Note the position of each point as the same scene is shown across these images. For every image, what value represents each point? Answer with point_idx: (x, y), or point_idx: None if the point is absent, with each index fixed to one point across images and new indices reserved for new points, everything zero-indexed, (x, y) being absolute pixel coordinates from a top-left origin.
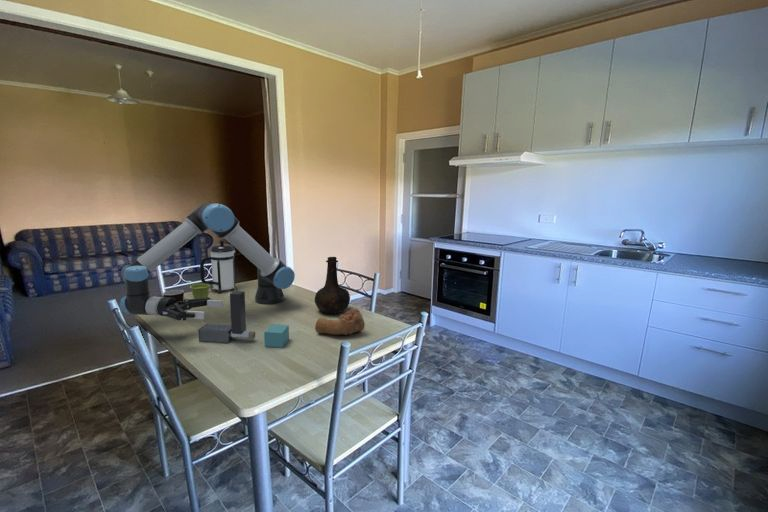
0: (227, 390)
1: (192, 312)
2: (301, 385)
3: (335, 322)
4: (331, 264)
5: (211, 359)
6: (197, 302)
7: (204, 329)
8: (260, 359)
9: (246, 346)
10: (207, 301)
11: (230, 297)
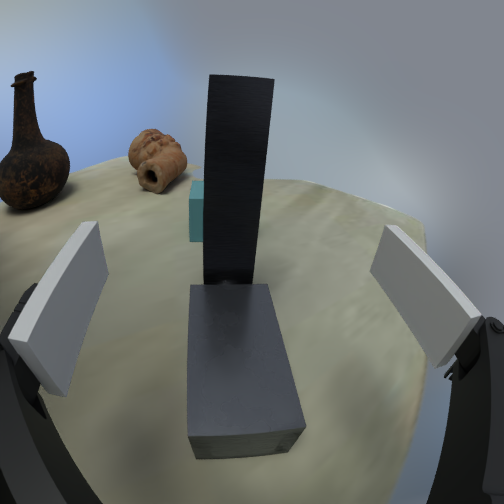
0: (419, 242)
1: (445, 281)
2: (347, 193)
3: (176, 151)
4: (32, 85)
5: (380, 312)
6: (61, 483)
7: (289, 392)
8: (315, 233)
9: (264, 273)
10: (37, 347)
11: (271, 100)
